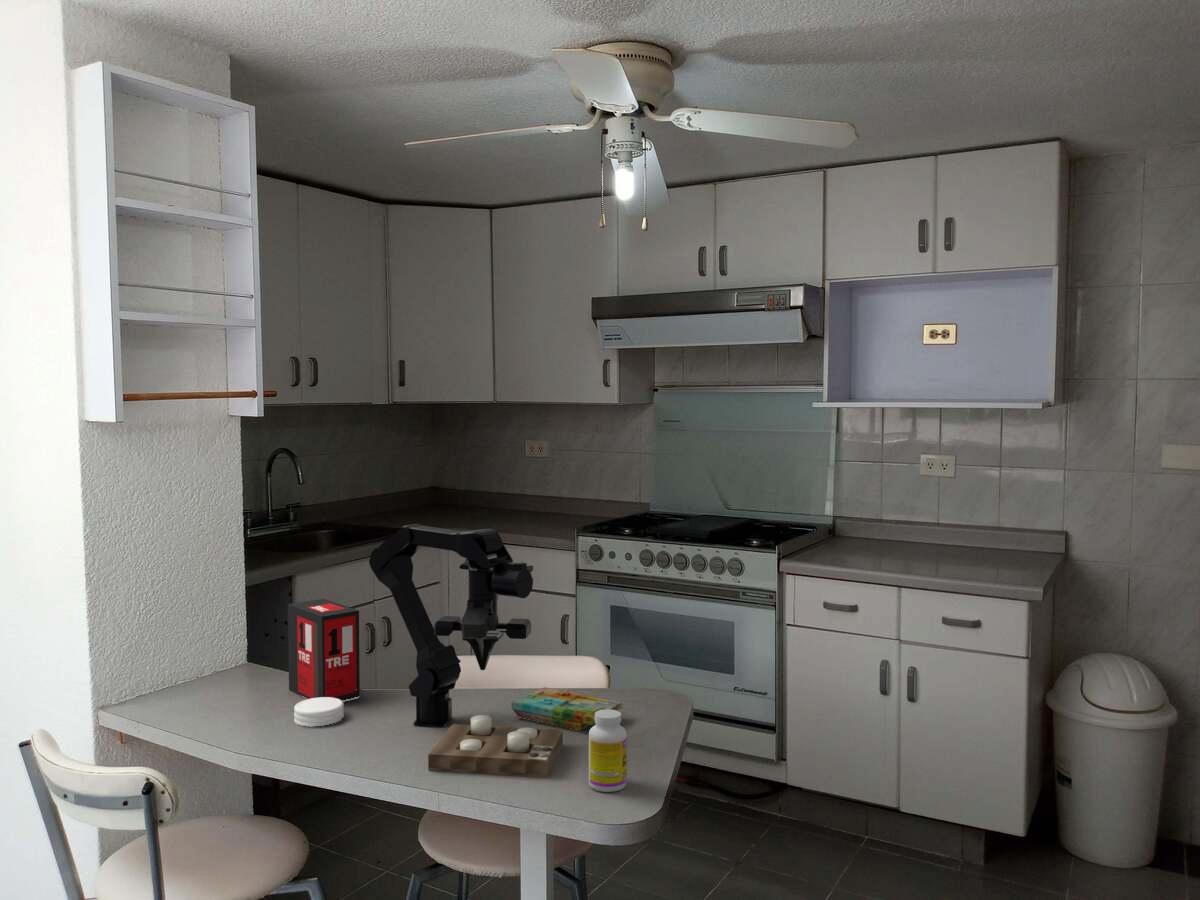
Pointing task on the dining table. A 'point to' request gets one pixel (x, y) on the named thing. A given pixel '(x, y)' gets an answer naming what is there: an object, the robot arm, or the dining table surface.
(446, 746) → the button board
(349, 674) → the cleaning product box
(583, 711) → the puzzle game
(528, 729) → the inner button
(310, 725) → the white short cylinder
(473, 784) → the dining table surface
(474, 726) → the inner button
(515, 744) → the outer button
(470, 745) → the outer button
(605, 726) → the supplement bottle
